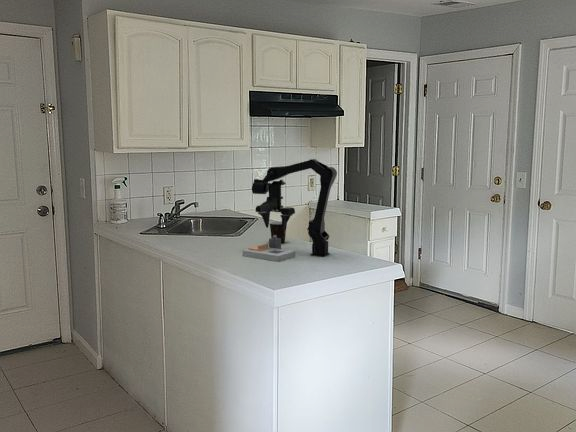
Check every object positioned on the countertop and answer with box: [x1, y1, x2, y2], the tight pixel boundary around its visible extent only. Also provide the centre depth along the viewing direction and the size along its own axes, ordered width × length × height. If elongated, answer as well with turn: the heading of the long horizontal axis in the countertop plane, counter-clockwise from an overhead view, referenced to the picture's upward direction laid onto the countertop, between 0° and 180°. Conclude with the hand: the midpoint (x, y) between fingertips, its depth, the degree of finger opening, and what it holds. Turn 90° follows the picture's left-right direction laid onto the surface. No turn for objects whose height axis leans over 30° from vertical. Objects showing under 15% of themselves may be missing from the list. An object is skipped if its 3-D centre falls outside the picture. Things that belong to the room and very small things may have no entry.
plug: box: [268, 235, 282, 249], centre depth 255 cm, size 4×4×8 cm
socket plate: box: [241, 246, 296, 263], centre depth 245 cm, size 20×12×2 cm, turn 54°
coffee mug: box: [269, 221, 288, 245], centre depth 274 cm, size 12×9×10 cm
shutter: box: [247, 243, 269, 251], centre depth 248 cm, size 6×6×2 cm
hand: (275, 228), depth 254 cm, fingers open, 9 cm apart
